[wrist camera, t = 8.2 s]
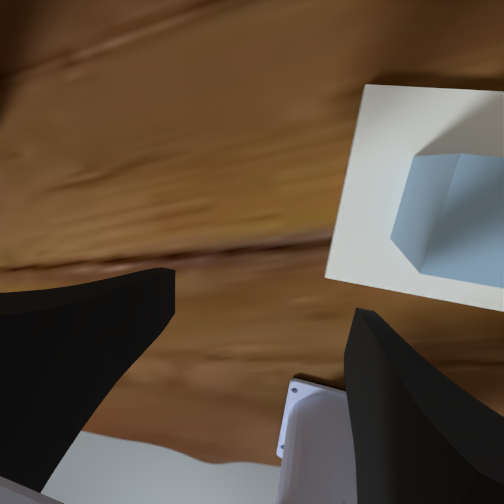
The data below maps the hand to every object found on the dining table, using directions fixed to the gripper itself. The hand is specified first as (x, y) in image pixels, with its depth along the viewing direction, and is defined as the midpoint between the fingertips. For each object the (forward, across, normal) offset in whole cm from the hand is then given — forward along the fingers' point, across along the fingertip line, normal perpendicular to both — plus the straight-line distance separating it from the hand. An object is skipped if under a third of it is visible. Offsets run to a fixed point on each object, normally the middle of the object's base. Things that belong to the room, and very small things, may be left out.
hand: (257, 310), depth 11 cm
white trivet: (+10, -9, -4) cm, 14 cm away
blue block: (+9, -9, -4) cm, 14 cm away
